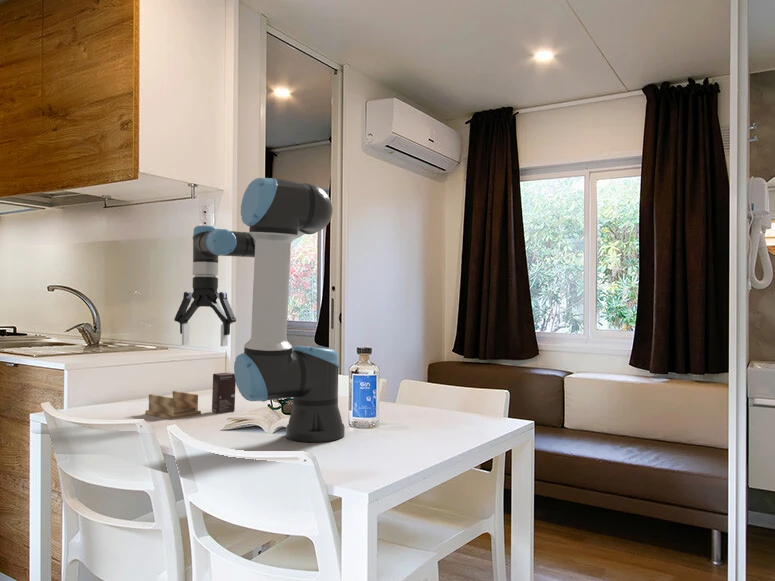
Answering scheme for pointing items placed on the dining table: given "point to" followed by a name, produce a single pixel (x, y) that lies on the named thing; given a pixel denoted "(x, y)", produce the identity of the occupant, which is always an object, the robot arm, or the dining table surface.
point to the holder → (173, 405)
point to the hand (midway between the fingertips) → (204, 345)
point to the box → (223, 392)
